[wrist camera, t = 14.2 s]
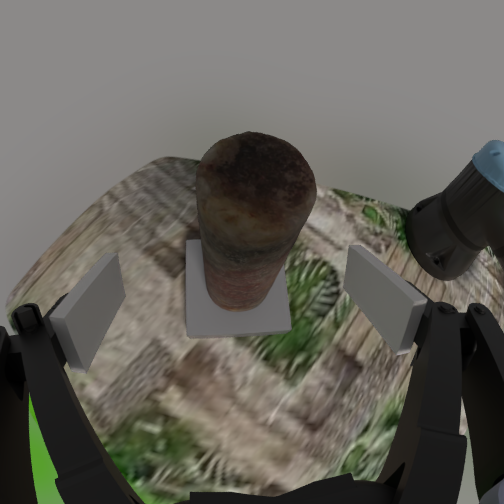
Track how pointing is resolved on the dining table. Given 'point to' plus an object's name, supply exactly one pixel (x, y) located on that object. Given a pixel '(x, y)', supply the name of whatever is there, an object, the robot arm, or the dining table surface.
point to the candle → (250, 214)
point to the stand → (226, 322)
